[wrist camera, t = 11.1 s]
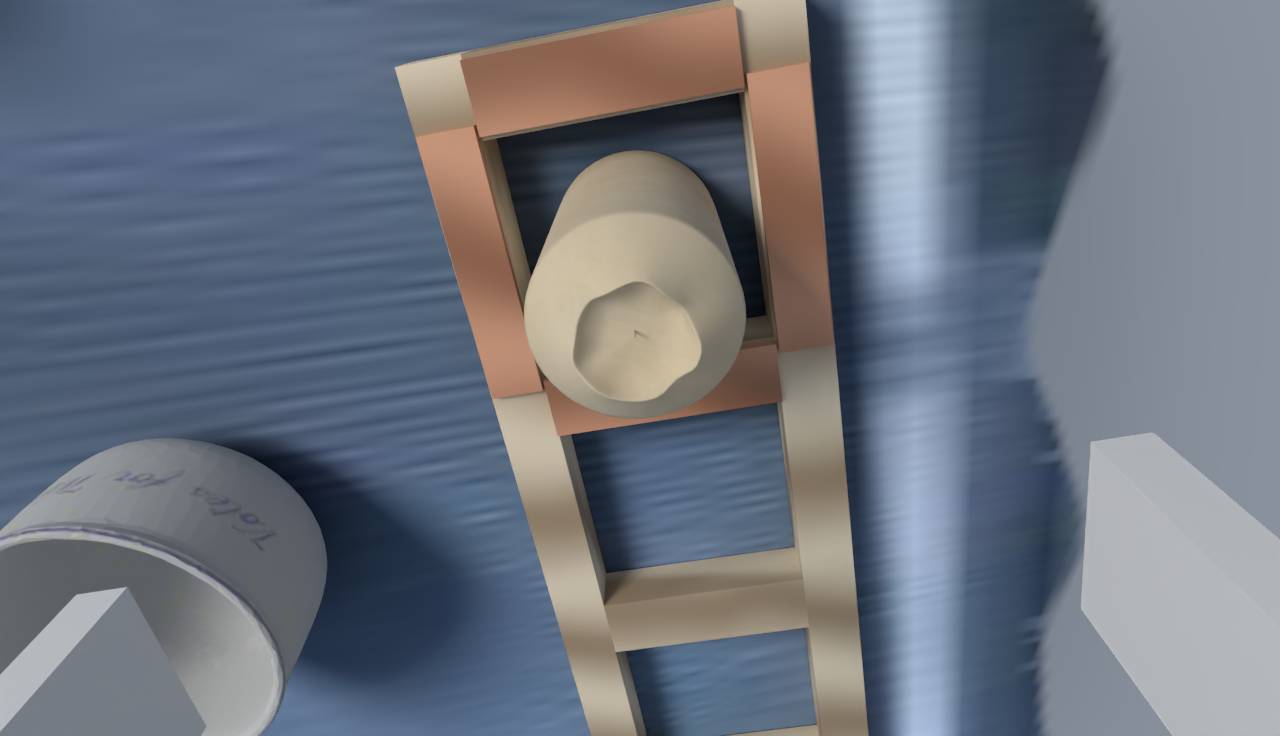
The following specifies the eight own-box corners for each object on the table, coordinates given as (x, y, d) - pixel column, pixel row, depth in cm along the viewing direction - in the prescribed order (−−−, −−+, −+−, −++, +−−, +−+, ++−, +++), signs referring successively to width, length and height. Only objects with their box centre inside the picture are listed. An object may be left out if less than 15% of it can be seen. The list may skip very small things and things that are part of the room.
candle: (576, 129, 26) (539, 201, 17) (737, 170, 27) (785, 261, 18) (543, 284, 28) (496, 421, 19) (693, 319, 29) (715, 468, 20)
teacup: (351, 418, 31) (259, 549, 24) (363, 631, 35) (290, 795, 28) (-19, 382, 30) (-227, 506, 23) (43, 603, 35) (-116, 763, 28)
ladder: (862, 756, 38) (875, 800, 36) (618, 784, 39) (616, 828, 37) (792, -14, 24) (806, -15, 22) (412, 61, 25) (391, 68, 23)
